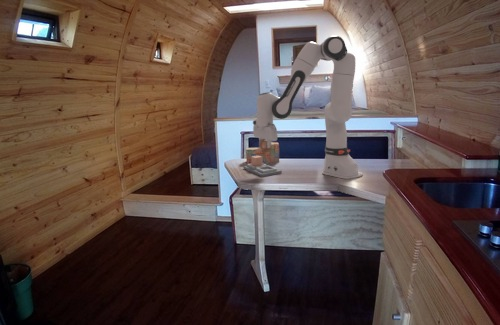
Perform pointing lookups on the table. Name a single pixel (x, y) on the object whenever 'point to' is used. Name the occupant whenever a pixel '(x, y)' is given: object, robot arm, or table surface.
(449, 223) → the table surface
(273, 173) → the assembly plate
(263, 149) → the terracotta block
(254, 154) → the stack of blocks
